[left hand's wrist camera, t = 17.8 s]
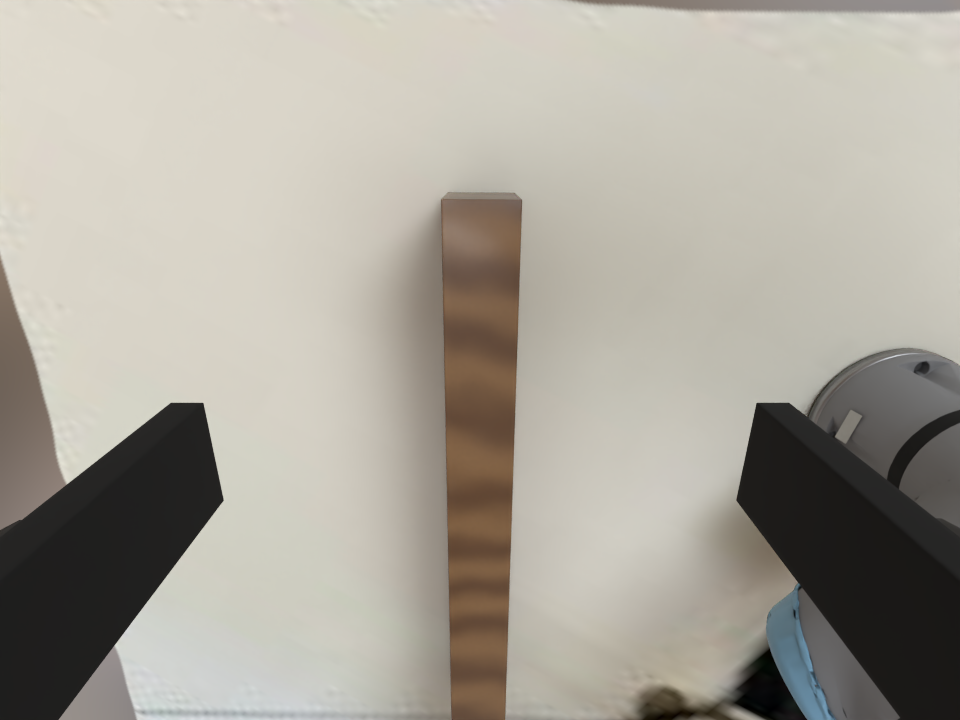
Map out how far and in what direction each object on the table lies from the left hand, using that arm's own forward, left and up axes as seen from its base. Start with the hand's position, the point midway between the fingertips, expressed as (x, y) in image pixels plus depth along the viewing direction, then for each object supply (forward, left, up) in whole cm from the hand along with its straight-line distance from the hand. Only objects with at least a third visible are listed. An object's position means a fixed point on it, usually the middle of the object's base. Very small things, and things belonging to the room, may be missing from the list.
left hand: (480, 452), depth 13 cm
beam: (-16, +18, -35) cm, 43 cm away
